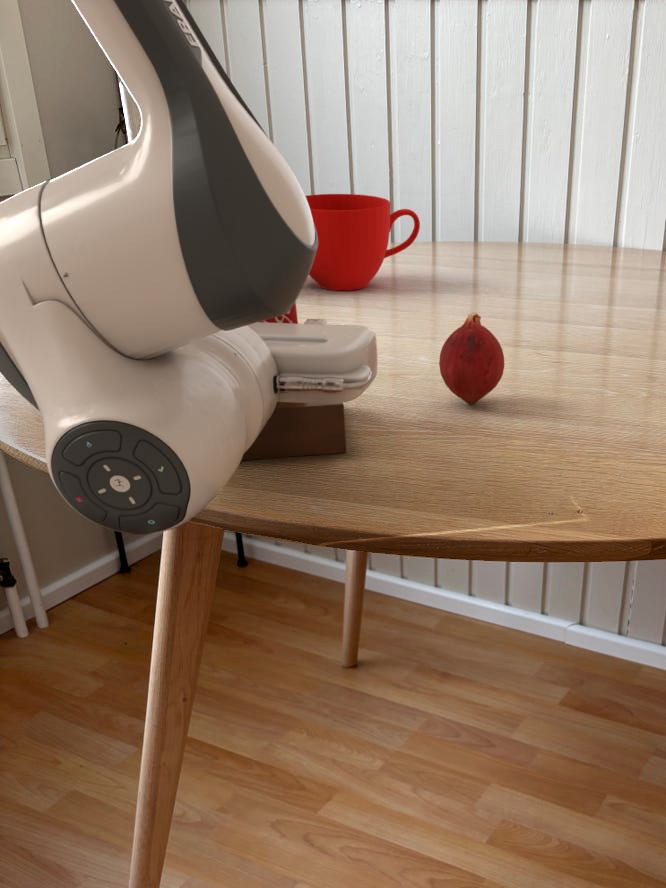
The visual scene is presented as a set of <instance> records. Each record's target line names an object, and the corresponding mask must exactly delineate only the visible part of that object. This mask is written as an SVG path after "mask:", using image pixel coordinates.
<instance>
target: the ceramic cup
mask: <svg viewBox="0 0 666 888" xmlns="http://www.w3.org/2000/svg"><path fill="white" fill-rule="evenodd" d="M305 196H306V199H307V201H308V204H309V207H310V210H311V214H312V218H313V221H314V224H315V228H316V231H317V236H318V247H317V251H316V255H315V258H314V262H313V265H312V268H311V270H310V273H309V275H308V276H309V277H310V278H311V279H312V280H313V281H314V282H315V283H316V284H317V287H319V288H321V289H325V290H329V291H355V290H361V289H364V288H366V287H368V286H369V284H370V282H371V281H372V280H373V279H374V278H375V276H376V275H377V274H378V272H379V271H380V269H381V267H382V265H383V263H384V260H385V259H387V258H389V257H392V256H394V255H397V254H398V253H401V252H402V251H404V250H406V249H407V248H408V247H410V246H411V245H412V244H413V243H414V242H415V240H416V239H417V237H418V235H419V233H420V228H421V223H420V218H419V216H418V214H417V213H416V212H415V211H414V210H412V209H409V208H400V209H397V210H396V211H394V212H392V213H391V202H390V200H388V199H386V198H384V197H380V196H375V195H368V194H367V195H366V194H356V193H320V194H309V195H305ZM402 216H409V217H411V218H412V220H413V229H412V231H411V234H410V236H408V238H407V239H406V240H405V241H404V242H402V243H400V244H399V245H396V246H395V247H392V248H388V246H389V239H390V233H391V229H392V227H393V225H394V223H395V221H397V220H398V219H399V218H401V217H402Z"/></svg>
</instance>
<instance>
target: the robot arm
mask: <svg viewBox="0 0 666 888" xmlns="http://www.w3.org/2000/svg"><path fill="white" fill-rule="evenodd" d="M71 2H72V3H73V5H74V6H75V8H76V10H77V11H78V13H79V14H80V16H81V17H82V19H83V21H84V22H85V24H86V25H87V27H88V29H89V30H90V32H91V34H92V35H93V36H94V38H95V40H96V42H97V43H98V45H99V46H100V48H101V49H102V51H103V53H104V54H105V56H106V57H107V59H108V61H109V62H110V64H111V65H112V67H113V69H114V70H115V71H116V73H117V75H118V76H119V78H120V81H123V83H124V84H125V86H126V87H127V89H128V91H129V92H130V94H131V95H132V97H133V99H134V100H135V102H136V104H137V105H138V107H139V110H140V113H141V129H140V132H139V134H138V136H137V137H136V138H135V139H134V140H133V141H132V142H130V143H129V142H128V143H127V144H125V145H123V146H121V147H118V148H116V149H114V150H112V151H110V152H108V153H106V154H103V155H102V156H100V157H97V158H95V159H93V160H91V161H89V162H87V163H84V164H83V165H81V166H79V167H76V168H74V169H72V170H70V171H68V172H66V173H64V174H61V175H60V176H56V177H54V178H52V179H50V178H48V179H46V180H44V181H43V182H41V183H38V184H36V185H34V186H32V187H30V188H27V189H25V190H23V191H21V192H19V193H16V194H14V195H13V196H10V197H9V198H7V199H4V200H3V201H1V202H0V374H1V375H2V376H3V377H4V378H5V380H6V381H7V382H8V383H9V384H10V385H11V386H12V387H13V388H14V390H16V392H17V393H19V394H20V396H22V398H23V399H25V400H26V401H27V402H28V403H29V404H30V405H31V406H33V407H34V408H35V409H36V410H37V411H38V412H39V414H40V417H41V420H42V425H43V432H44V455H45V460H46V467H47V471H48V474H49V476H50V479H51V480H52V483H53V484H54V486H55V488H56V490H57V492H58V493H59V494H60V496H61V498H62V499H63V500H64V501H65V502H66V504H68V505H69V506H70V508H71V509H73V510H74V511H75V512H76V513H77V514H79V515H80V516H82V517H83V518H85V519H87V520H88V521H90V522H92V523H93V524H96V525H97V526H99V527H102V528H105V529H108V530H112V531H116V532H120V533H124V534H132V535H150V534H158V533H163V532H167V531H170V530H173V529H176V528H177V527H180V526H182V525H184V524H186V523H187V522H189V521H190V520H192V519H194V517H195V516H197V515H198V514H199V513H200V512H202V511H203V510H204V509H205V508H206V507H207V506H208V505H210V503H212V501H213V500H214V499H215V498H216V497H217V496H218V494H219V493H221V491H222V490H223V488H224V487H225V486H226V485H227V483H228V482H229V481H230V480H231V478H232V476H233V475H234V474H235V472H236V471H237V469H238V467H239V466H240V463H241V461H242V460H241V459H242V457H243V454H244V453H245V452H246V451H247V450H248V449H249V448H250V447H251V445H252V444H253V443H254V441H255V440H256V438H257V437H258V435H259V433H260V432H261V430H262V429H263V427H264V426H265V424H266V423H267V421H268V420H269V418H270V417H271V415H272V413H273V411H274V409H275V407H276V404H277V402H295V403H323V404H334V403H343V404H344V403H348V402H351V401H353V400H356V399H357V398H359V397H360V396H361V395H362V394H363V393H365V392H366V390H368V388H369V387H370V386H371V385H372V383H373V382H374V380H375V379H376V378H377V375H378V341H377V334H376V332H375V331H374V330H373V329H371V328H369V327H367V326H365V325H353V324H352V325H351V324H350V325H349V324H347V325H346V324H328V322H327V319H324V318H306V321H304V322H303V323H298V324H295V323H266V322H260V321H264V320H267V319H271V318H274V317H277V316H281V315H284V314H286V313H288V312H289V311H290V309H291V308H292V306H293V305H294V303H295V301H297V299H298V298H299V296H300V294H301V293H302V290H303V289H304V286H305V284H306V282H307V280H308V278H309V276H310V275H309V273H310V270H311V268H312V265H313V262H314V258H315V255H316V251H317V247H318V236H317V231H316V228H315V224H314V221H313V218H312V214H311V210H310V207H309V204H308V201H307V199H306V196H307V195H306V194H305V191H304V190H303V188H302V185H301V184H300V182H299V180H298V178H297V176H296V175H295V173H294V171H293V170H292V168H291V166H290V165H289V163H288V162H287V160H286V159H285V158H284V156H283V155H282V153H281V152H280V151H279V150H278V148H277V147H276V146H275V145H274V143H273V142H272V141H271V139H270V137H269V136H268V135H267V133H266V131H265V130H264V128H263V127H262V125H261V124H260V123H259V122H258V120H257V119H256V117H255V115H254V114H253V112H252V111H251V109H250V107H248V105H247V103H246V102H245V100H244V99H243V97H242V96H241V94H240V93H239V92H238V90H237V89H236V87H235V85H234V84H233V82H232V80H231V79H230V78H229V76H228V74H227V72H226V71H225V69H224V67H223V66H222V64H221V62H220V60H219V59H218V57H217V56H216V54H215V52H214V51H213V49H212V47H211V45H210V44H209V42H208V41H207V39H206V37H205V36H204V34H203V32H202V31H201V29H200V27H199V25H198V24H197V22H196V21H195V18H194V17H193V16H192V13H191V12H190V10H189V9H188V6H187V5H186V3H185V1H184V0H71Z"/></svg>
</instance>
